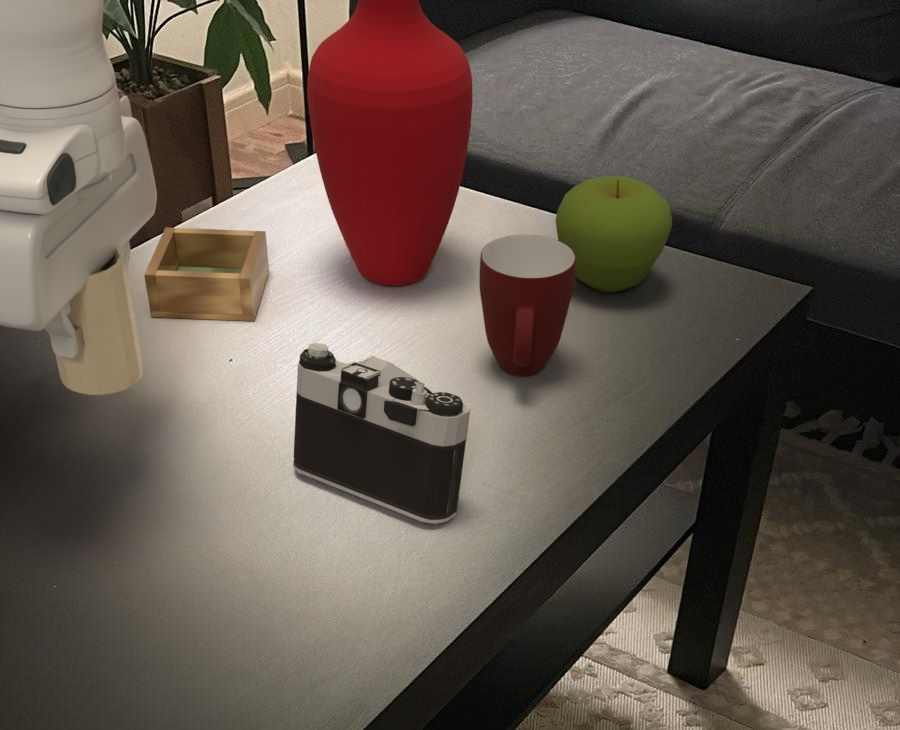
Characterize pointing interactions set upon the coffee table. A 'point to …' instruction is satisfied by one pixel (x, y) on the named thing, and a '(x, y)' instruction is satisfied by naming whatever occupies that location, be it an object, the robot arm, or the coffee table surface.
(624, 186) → the apple
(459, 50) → the vase
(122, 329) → the beige cup
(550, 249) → the mug
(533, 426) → the coffee table surface
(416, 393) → the camera
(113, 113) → the robot arm
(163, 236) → the open wooden box
